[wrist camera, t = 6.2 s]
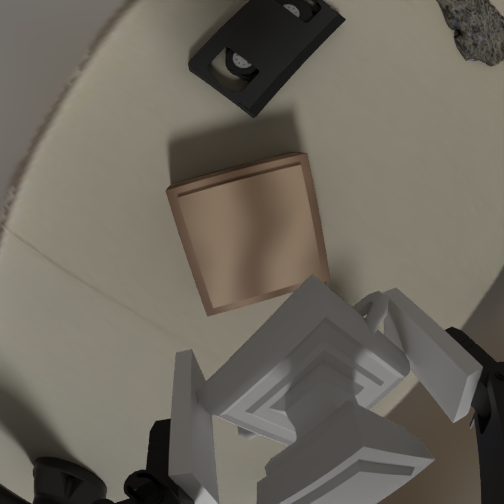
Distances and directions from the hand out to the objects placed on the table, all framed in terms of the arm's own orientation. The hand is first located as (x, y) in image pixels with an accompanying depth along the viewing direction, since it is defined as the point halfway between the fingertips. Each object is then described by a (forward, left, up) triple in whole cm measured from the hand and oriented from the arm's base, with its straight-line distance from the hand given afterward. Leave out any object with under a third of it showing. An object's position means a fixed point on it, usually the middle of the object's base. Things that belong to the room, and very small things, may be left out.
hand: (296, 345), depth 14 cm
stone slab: (+39, +22, -19) cm, 48 cm away
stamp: (0, 0, -1) cm, 1 cm away
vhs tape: (+7, +18, -19) cm, 27 cm away
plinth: (+1, +1, -18) cm, 18 cm away
